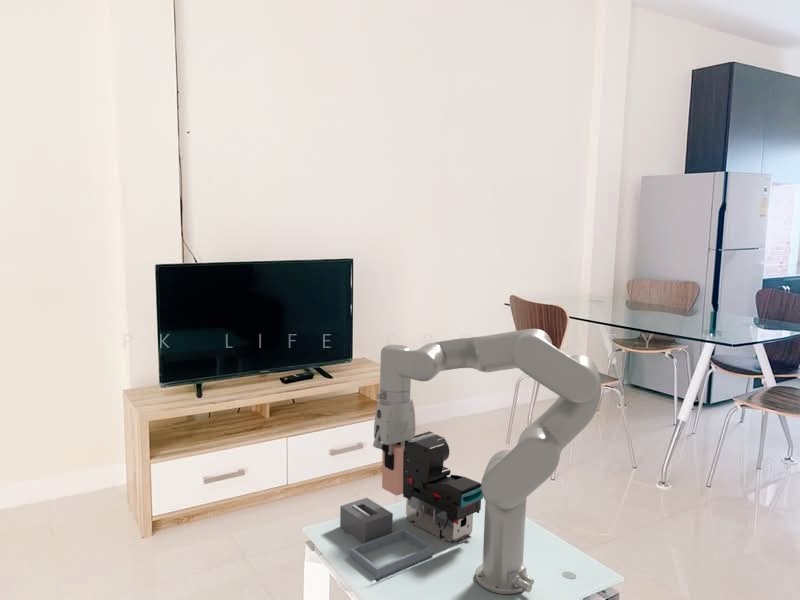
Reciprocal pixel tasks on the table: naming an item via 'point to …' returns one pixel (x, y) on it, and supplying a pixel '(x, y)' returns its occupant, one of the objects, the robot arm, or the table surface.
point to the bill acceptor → (437, 490)
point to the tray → (396, 564)
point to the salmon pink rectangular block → (393, 472)
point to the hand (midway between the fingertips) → (393, 466)
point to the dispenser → (365, 520)
